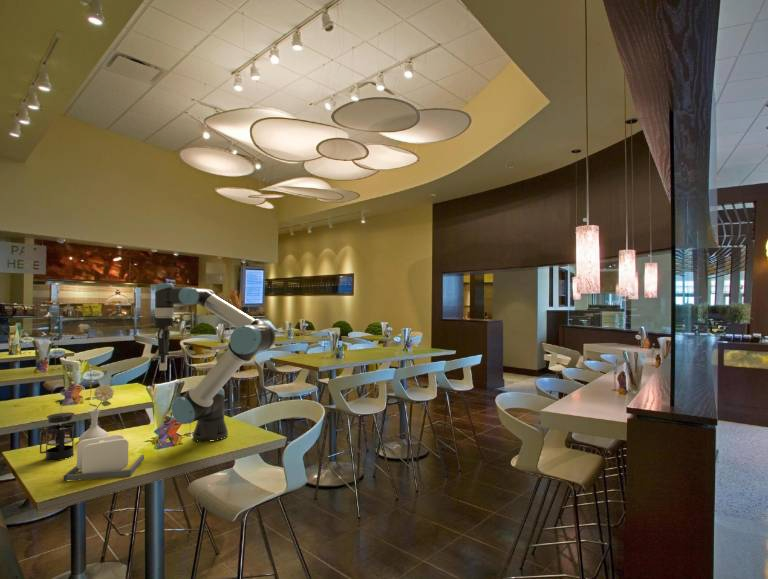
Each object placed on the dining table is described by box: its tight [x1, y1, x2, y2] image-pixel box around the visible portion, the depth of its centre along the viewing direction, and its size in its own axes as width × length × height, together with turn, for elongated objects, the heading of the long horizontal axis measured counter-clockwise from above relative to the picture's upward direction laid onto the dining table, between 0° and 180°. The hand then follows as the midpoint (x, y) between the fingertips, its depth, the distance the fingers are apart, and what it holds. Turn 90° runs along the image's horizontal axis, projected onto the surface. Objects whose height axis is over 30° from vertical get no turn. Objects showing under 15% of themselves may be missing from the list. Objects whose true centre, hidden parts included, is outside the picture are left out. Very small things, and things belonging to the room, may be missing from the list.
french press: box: [39, 398, 75, 461], centre depth 178 cm, size 12×9×23 cm
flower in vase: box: [78, 384, 115, 442], centre depth 201 cm, size 13×11×25 cm
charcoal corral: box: [62, 454, 145, 482], centre depth 163 cm, size 21×17×2 cm
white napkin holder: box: [76, 433, 129, 473], centre depth 163 cm, size 15×11×12 cm
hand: (163, 370), depth 197 cm, fingers closed
